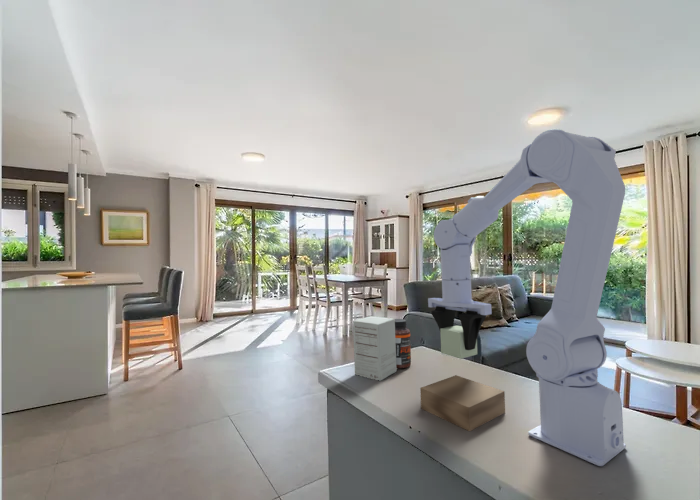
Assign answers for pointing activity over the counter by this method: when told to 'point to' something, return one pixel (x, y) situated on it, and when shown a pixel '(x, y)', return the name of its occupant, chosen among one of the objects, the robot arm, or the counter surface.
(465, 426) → the walnut block
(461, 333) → the sage cube
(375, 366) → the supplement box
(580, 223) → the robot arm
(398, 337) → the supplement bottle
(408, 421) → the counter surface
